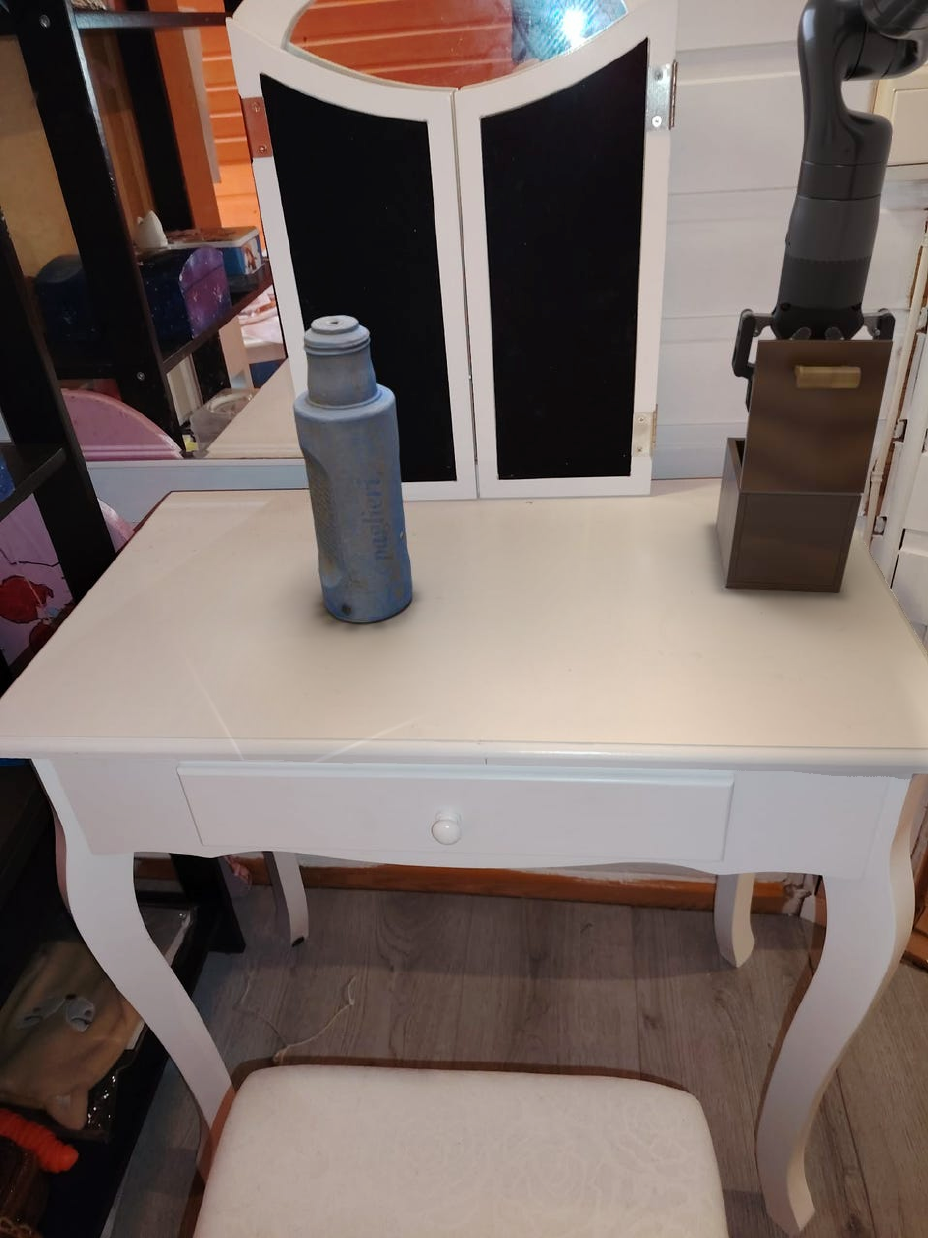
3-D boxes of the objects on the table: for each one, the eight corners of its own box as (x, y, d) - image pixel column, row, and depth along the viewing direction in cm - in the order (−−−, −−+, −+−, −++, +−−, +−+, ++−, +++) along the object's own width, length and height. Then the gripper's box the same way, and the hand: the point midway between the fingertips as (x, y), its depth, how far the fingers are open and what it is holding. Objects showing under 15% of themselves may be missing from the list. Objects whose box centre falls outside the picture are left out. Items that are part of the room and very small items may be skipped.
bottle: (310, 593, 98) (261, 319, 80) (390, 566, 102) (359, 299, 84) (346, 635, 91) (300, 345, 74) (430, 604, 95) (405, 322, 77)
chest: (715, 525, 105) (727, 437, 99) (817, 528, 104) (836, 438, 97) (725, 587, 94) (739, 493, 88) (839, 592, 93) (862, 496, 86)
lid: (757, 339, 81) (765, 350, 77) (891, 339, 79) (906, 350, 75) (739, 487, 88) (745, 505, 84) (862, 490, 86) (874, 508, 82)
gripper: (752, 258, 78) (729, 430, 87) (923, 255, 76) (881, 432, 85) (743, 238, 84) (723, 401, 93) (901, 235, 82) (865, 402, 91)
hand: (798, 416), depth 89 cm, fingers open, 8 cm apart
